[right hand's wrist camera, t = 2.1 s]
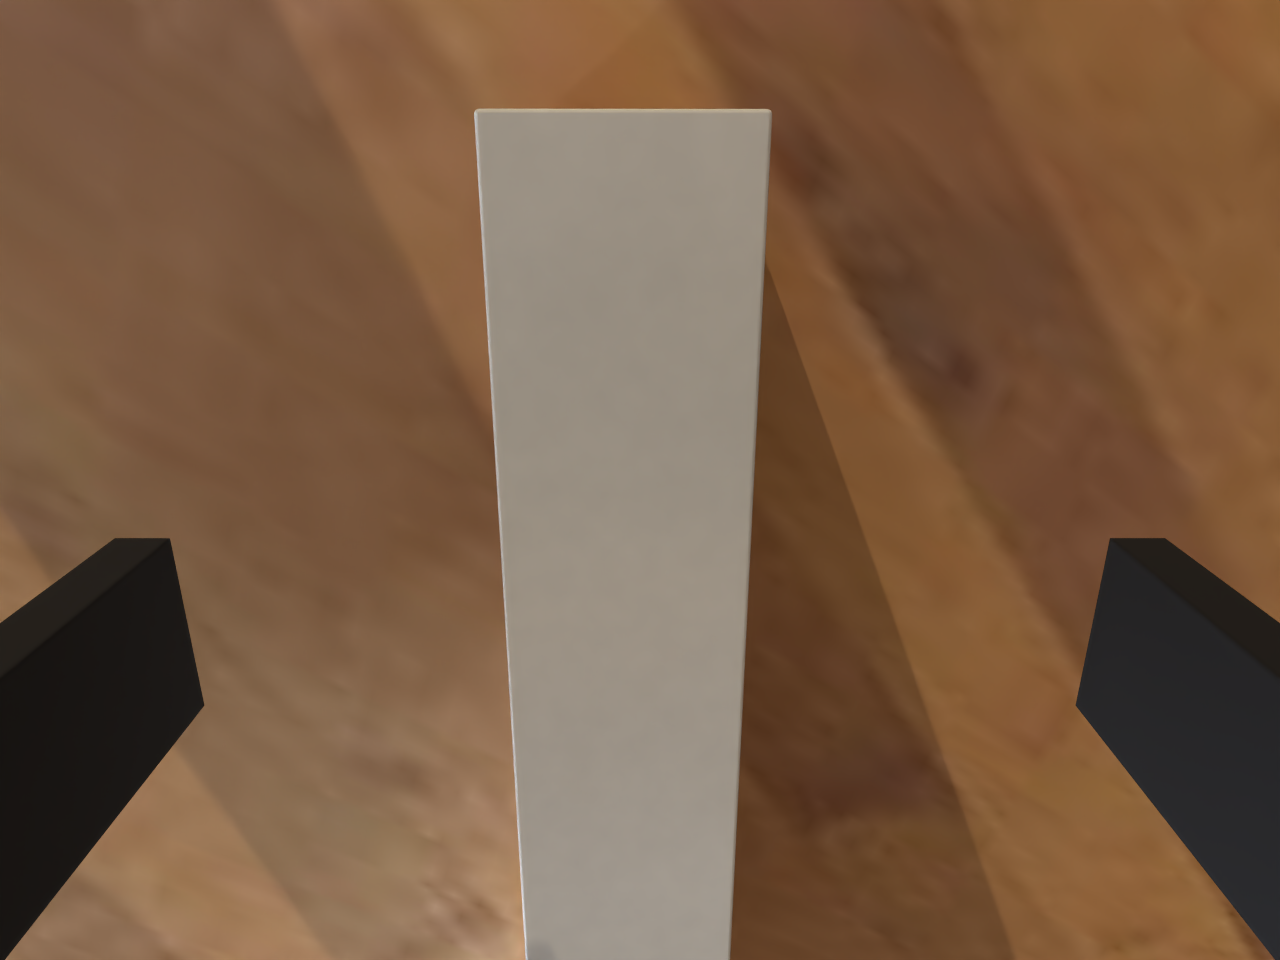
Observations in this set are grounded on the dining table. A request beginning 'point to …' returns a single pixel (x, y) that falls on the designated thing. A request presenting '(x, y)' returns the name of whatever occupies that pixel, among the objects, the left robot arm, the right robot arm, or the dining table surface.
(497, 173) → the bar
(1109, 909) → the dining table surface
